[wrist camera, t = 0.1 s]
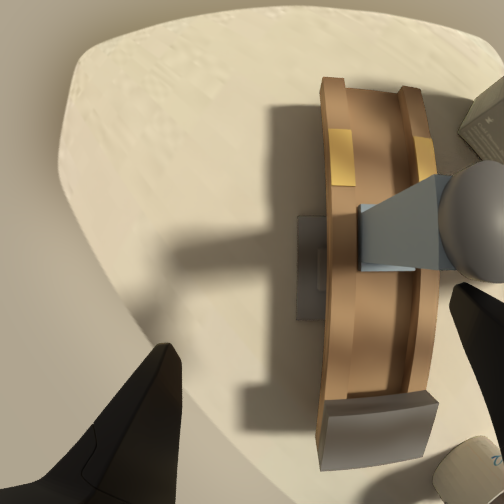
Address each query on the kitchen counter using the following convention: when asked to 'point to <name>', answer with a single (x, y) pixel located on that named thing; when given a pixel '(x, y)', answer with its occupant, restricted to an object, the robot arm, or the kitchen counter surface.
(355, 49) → the kitchen counter surface
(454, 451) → the mug
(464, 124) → the skincare box
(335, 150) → the balance beam
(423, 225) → the rider
